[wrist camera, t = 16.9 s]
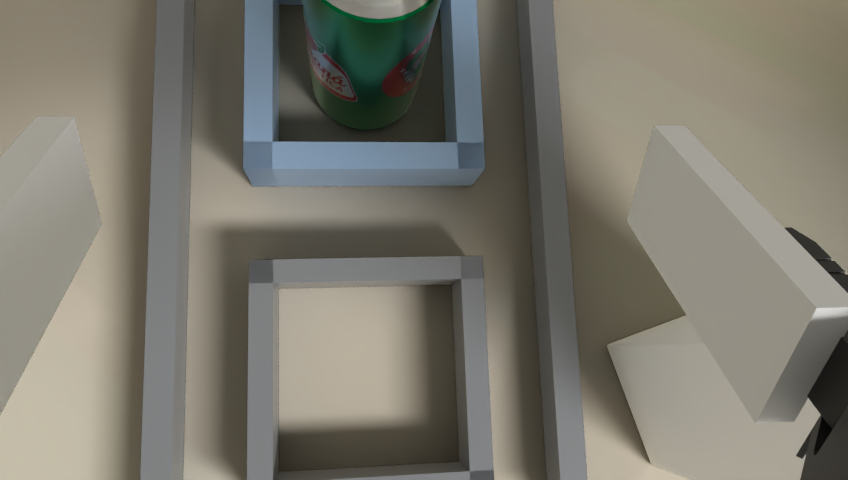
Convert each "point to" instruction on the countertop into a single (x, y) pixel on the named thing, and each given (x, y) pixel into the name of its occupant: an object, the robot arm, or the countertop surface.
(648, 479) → the countertop surface
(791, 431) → the milk
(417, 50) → the soda can
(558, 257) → the grey railed frame
